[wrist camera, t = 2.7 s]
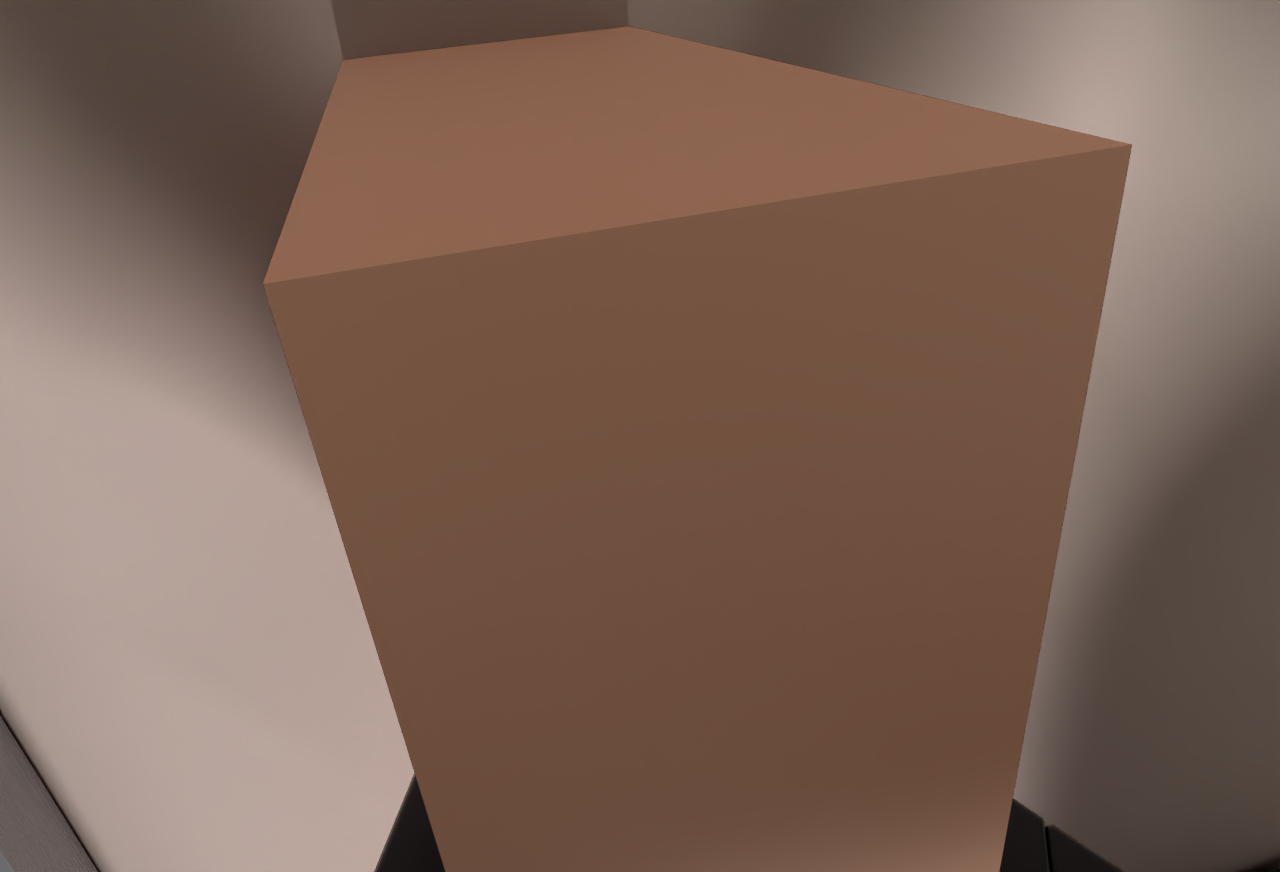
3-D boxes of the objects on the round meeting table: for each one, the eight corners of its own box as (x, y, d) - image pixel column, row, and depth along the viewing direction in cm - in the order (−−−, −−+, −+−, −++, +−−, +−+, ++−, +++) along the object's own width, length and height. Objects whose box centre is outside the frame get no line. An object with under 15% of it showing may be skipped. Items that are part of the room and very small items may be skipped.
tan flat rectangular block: (626, 25, 8) (1129, 144, 3) (699, 880, 14) (896, 1439, 8) (343, 59, 7) (259, 283, 2) (545, 927, 13) (655, 1545, 8)
